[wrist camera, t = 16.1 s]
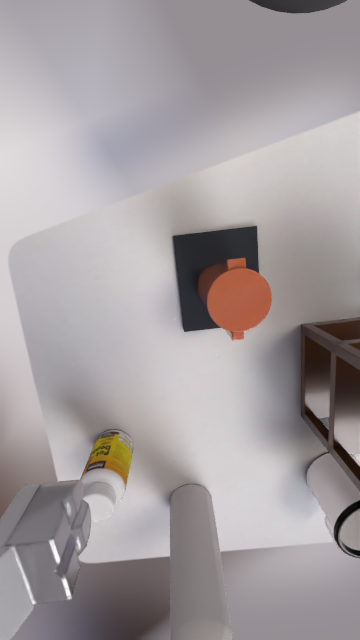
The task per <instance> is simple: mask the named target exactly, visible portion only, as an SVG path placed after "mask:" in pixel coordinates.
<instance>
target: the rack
mask: <svg viewBox="0 0 360 640" xmlns="http://www.w3.org/2000/svg"><path fill="white" fill-rule="evenodd" d="M301 416H302V418H303V419H304V420H305V422H306V423H307V424H308V425H309V427H310V428H311V429H312V431H313V432H314V433H315V435H316V436H317V437H318V438H319V440H320V441H321V442H322V444H323V445H324V446H325V447H326V449H327V450H328V451H329V453H330V454H331V455H332V456H333V458H334V459H335V460H336V462H337V463H338V464H339V465H340V467H341V468H342V469H343V471H344V472H345V473H346V474H347V476H348V477H349V478H350V480H351V481H352V482H353V483H354V485H355V486H356V487H357V489H358V490H359V491H360V466H359V465H358V464H357V463H356V462H355V460H354V459H353V458H352V457H351V456H350V454H358V453H360V318H352V319H343V320H335V321H326V322H318V323H309V324H302V325H301ZM327 417H329V430H328V429H327V428H326V427H325V426H324V425H323V423H322V422H321V421H320V420H319V418H327Z"/></svg>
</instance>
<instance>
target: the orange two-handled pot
mask: <svg viewBox="0 0 360 640" xmlns="http://www.w3.org/2000/svg"><path fill="white" fill-rule="evenodd" d="M225 261H226V263H215V264H212V265H210V266H208V267H207V268H205V269H204V270H203V271H202V273H201V274H200V276H199V279H198V282H197V291H198V295H199V297H200V299H201V301H202V302H203V304H204V306H205V308H206V309H207V311H208V313H209V314H210V316H211V318H212V319H213V321H214V322H215V323H216V324H217V325H218V326H220V327H221V328H223V329H225V330H226V332H227V333H228V335H229V336H230V338H231V339H232V340H240V339H244V332H243V331H247V330H250V329H252V328H254V327H255V326H257V325H258V324H260V323H261V322H262V321H263V320H264V318H265V317H266V315H267V314H268V312H269V309H270V306H271V298H272V297H271V290H270V287H269V285H268V283H267V281H266V280H265V279H264V278H263V277H262V276H261V275H260V274H259V273H257V272H256V271H253V270H251V269H247V268H246V259H245V258H234V259H226V260H225Z"/></svg>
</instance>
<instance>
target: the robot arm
mask: <svg viewBox="0 0 360 640" xmlns="http://www.w3.org/2000/svg"><path fill="white" fill-rule="evenodd" d="M84 493H85V488H84V485H83V482H82V481H81V480H71V481H60V482H51V483H43V484H35V485H25V486H24V487H22V488H21V489H19V491H18V492H17V494H16V495H15V497H14V499H13V500H12V502H11V503H10V505H9V506H8V508H7V509H6V511H5V512H4V514H3V515H2V517H1V519H0V640H11V638H12V637H13V636H14V634H15V633H16V632H17V630H18V629H19V628H20V626H21V625H22V623H23V622H24V621H25V620H26V618H27V617H28V615H29V614H30V613H31V612H32V610H33V609H34V607H33V606H35V605H40V604H47V603H53V602H59V601H66V600H71V598H72V595H73V591H74V588H75V585H76V581H77V578H78V574H79V570H80V567H81V565H80V562H79V558H78V556H79V555H80V554H81V552H82V551H83V550H84V549H85V548H86V546H87V543H88V539H89V535H90V527H91V511H90V507H89V504H88V503H87V502H86V501H84V500H83V496H84Z"/></svg>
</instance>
